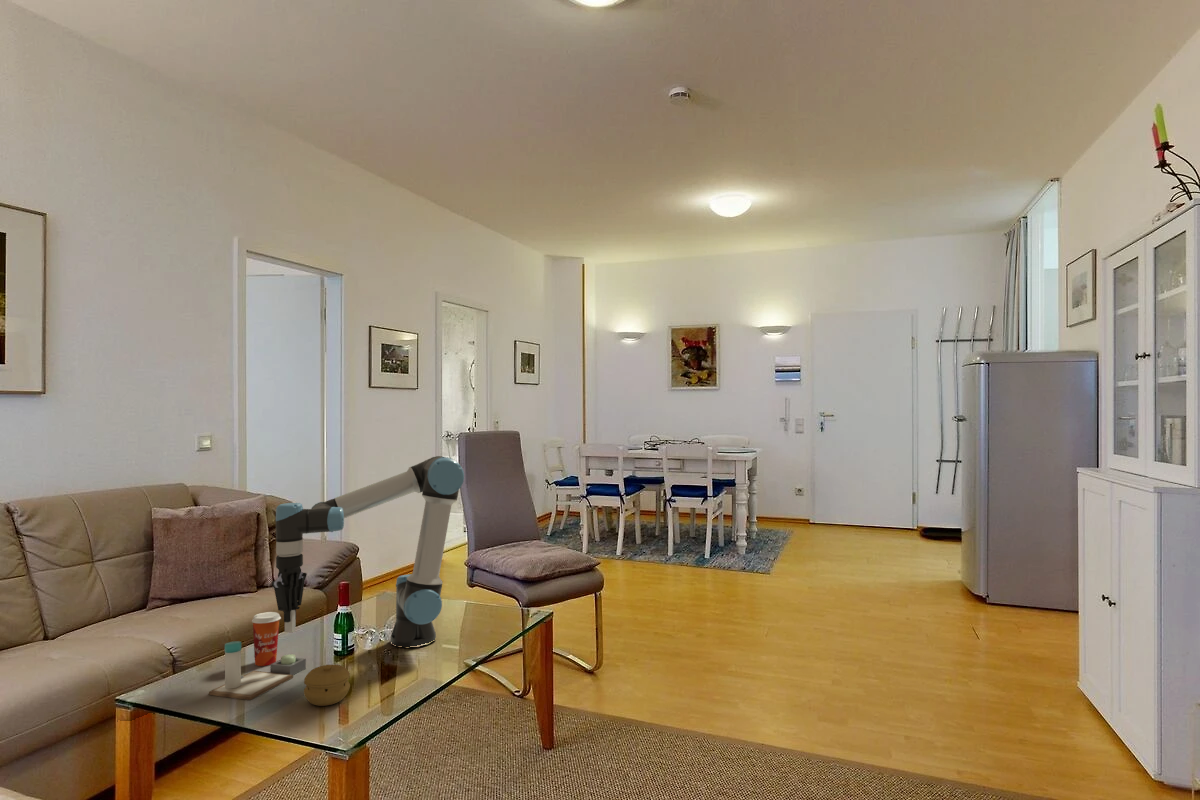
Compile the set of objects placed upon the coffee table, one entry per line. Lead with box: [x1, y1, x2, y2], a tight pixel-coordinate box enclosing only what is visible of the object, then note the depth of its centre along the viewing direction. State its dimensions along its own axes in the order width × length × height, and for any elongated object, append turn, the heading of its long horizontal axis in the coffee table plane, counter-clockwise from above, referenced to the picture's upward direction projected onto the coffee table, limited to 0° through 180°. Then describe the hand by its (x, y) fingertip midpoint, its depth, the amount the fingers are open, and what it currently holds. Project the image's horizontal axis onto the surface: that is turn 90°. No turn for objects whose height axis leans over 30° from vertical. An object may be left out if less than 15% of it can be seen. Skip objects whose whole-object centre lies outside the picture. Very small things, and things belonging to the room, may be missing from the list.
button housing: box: [269, 657, 307, 676], centre depth 212 cm, size 7×7×3 cm
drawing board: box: [208, 670, 294, 701], centre depth 201 cm, size 14×17×2 cm
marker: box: [224, 640, 242, 689], centre depth 198 cm, size 4×4×12 cm
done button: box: [280, 653, 297, 665], centre depth 212 cm, size 4×4×4 cm
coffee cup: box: [251, 611, 282, 667], centre depth 220 cm, size 8×8×15 cm
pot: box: [303, 664, 351, 707], centre depth 190 cm, size 12×12×10 cm
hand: (290, 631), depth 213 cm, fingers closed
